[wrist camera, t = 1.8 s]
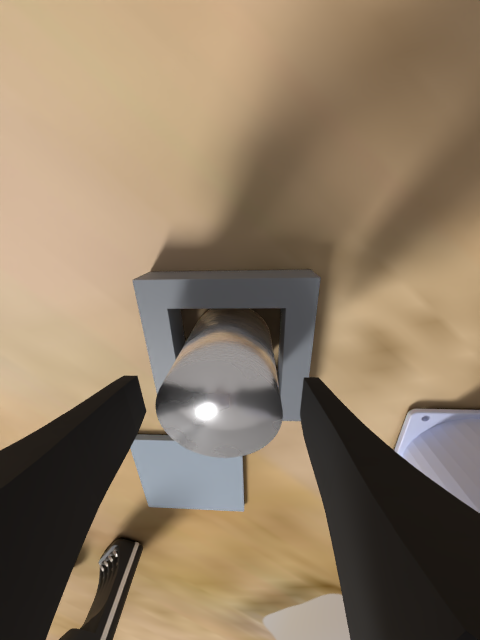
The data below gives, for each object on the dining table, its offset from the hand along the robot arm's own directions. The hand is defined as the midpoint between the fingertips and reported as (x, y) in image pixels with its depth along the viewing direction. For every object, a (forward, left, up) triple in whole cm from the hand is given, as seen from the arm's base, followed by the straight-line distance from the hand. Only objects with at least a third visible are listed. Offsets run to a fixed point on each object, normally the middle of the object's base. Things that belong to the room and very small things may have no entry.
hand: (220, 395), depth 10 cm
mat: (+4, +13, -5) cm, 15 cm away
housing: (0, 0, -5) cm, 5 cm away
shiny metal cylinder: (0, 0, -5) cm, 5 cm away
